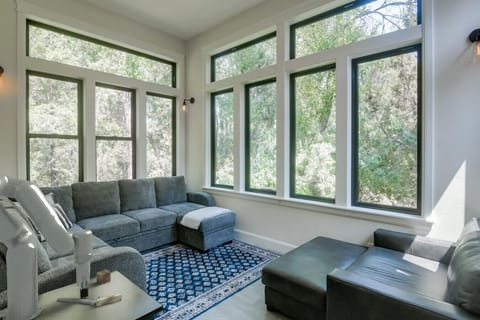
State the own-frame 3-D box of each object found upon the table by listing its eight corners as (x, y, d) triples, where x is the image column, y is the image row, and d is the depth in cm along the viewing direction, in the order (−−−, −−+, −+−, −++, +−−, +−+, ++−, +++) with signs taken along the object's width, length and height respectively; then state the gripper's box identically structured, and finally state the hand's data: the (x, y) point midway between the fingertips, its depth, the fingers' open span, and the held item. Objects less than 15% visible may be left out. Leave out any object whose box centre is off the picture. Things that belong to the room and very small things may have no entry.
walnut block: (100, 285, 131) (100, 275, 131) (96, 282, 134) (96, 272, 134) (110, 281, 135) (110, 271, 135) (106, 278, 138) (106, 269, 138)
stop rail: (96, 306, 112) (96, 301, 111) (96, 304, 113) (96, 299, 113) (121, 300, 117) (121, 294, 117) (121, 298, 118) (121, 292, 118)
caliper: (103, 295, 118) (96, 303, 112) (103, 298, 118) (96, 306, 112) (58, 297, 117) (48, 305, 111) (58, 299, 117) (48, 307, 111)
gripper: (74, 254, 122) (74, 291, 123) (73, 265, 110) (74, 307, 110) (92, 250, 126) (92, 287, 127) (93, 261, 114) (94, 301, 114)
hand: (84, 296), depth 118 cm, fingers closed
